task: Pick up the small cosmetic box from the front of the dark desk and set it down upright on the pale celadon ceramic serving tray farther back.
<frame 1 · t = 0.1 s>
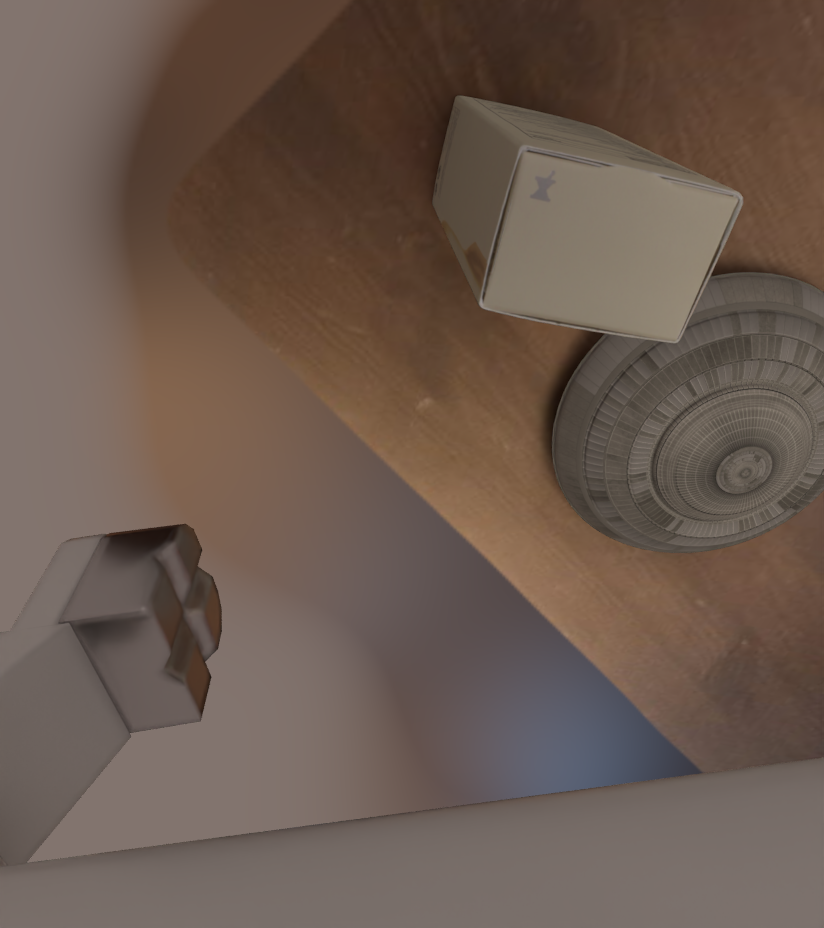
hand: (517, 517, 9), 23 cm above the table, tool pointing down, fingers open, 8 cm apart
cosmetic box: (517, 167, 29), on the table
flying saucer: (694, 411, 36), on the table
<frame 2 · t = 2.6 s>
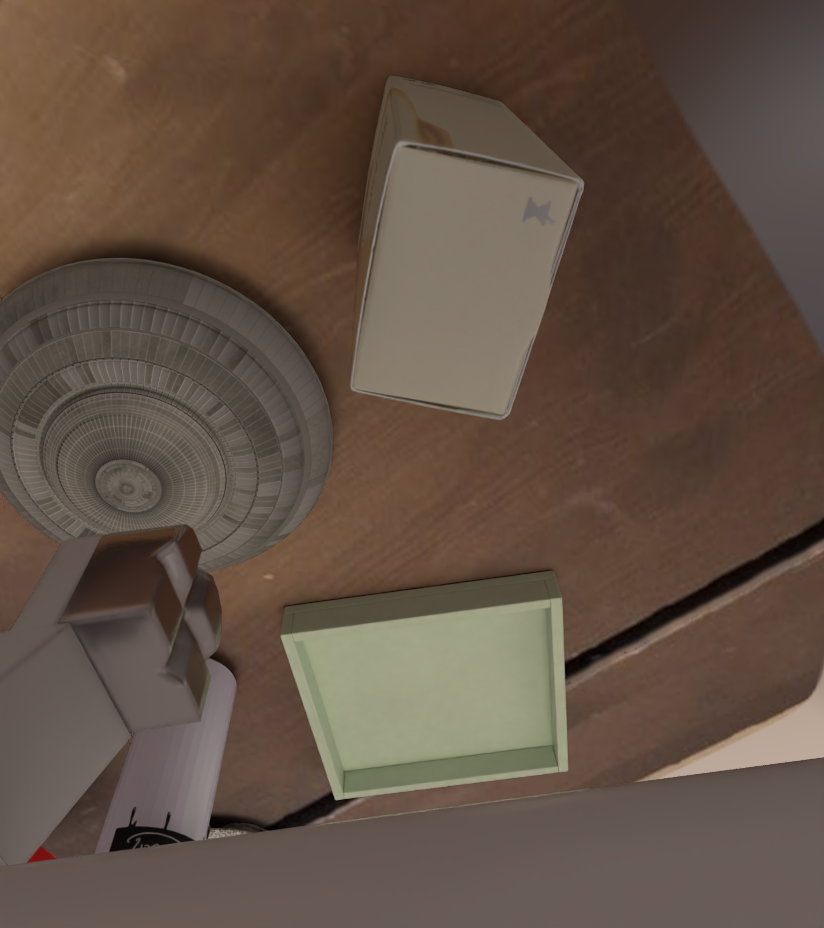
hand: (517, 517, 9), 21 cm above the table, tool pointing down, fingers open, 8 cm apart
grey speckled shallow bowl: (222, 861, 51), on the table
cosmetic box: (425, 180, 27), on the table
flying saucer: (164, 416, 32), on the table
perfume bottle: (198, 670, 40), on the table
tray: (434, 679, 41), on the table
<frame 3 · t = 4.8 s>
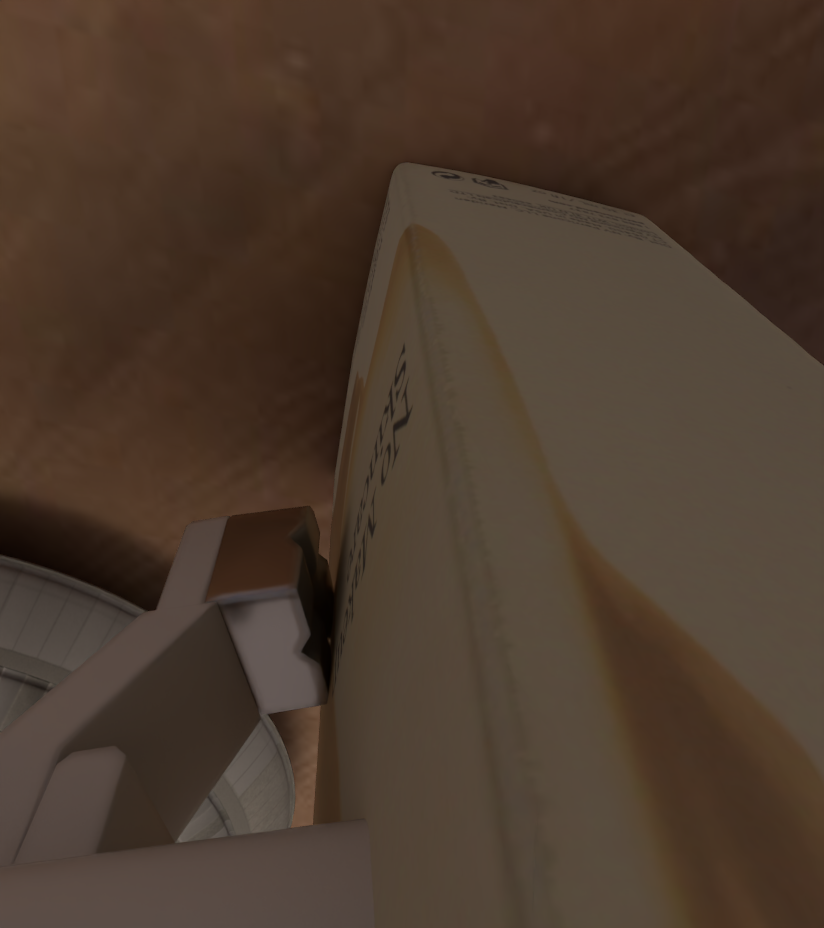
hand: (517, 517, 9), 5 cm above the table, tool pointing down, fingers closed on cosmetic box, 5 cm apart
cosmetic box: (471, 360, 13), on the table, touching gripper
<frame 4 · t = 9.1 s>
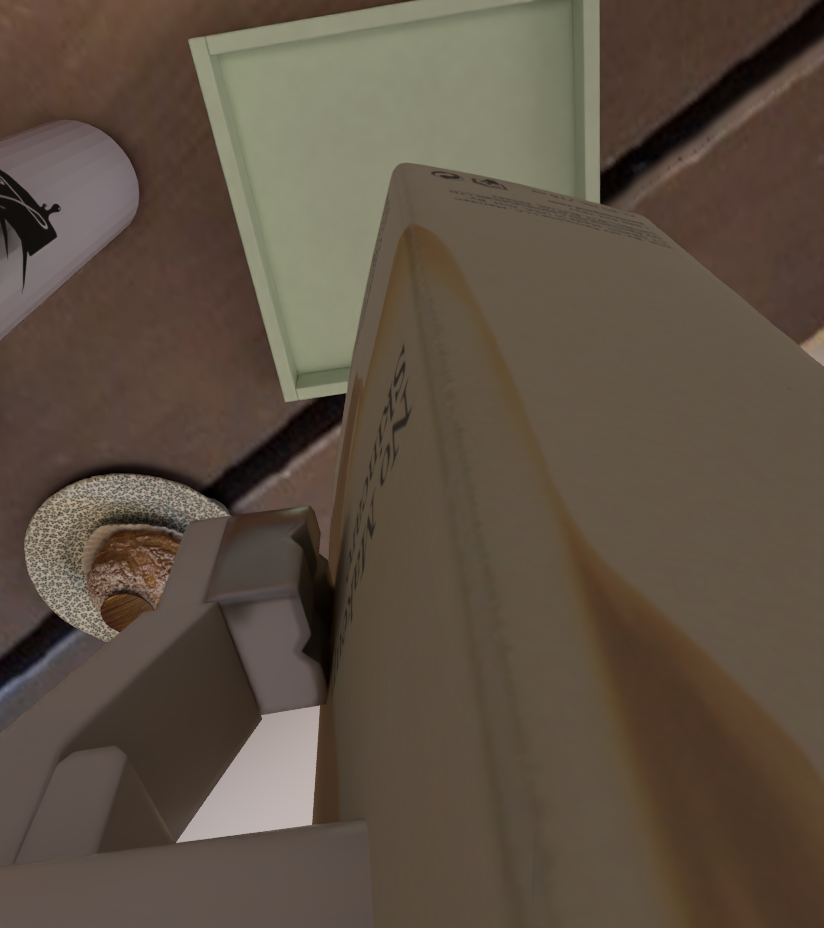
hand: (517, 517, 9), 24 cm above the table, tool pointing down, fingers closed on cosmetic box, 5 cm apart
grey speckled shallow bowl: (149, 554, 39), on the table
cosmetic box: (471, 361, 13), point 19 cm above the table, touching gripper
perfume bottle: (87, 178, 29), on the table
tray: (416, 204, 30), on the table
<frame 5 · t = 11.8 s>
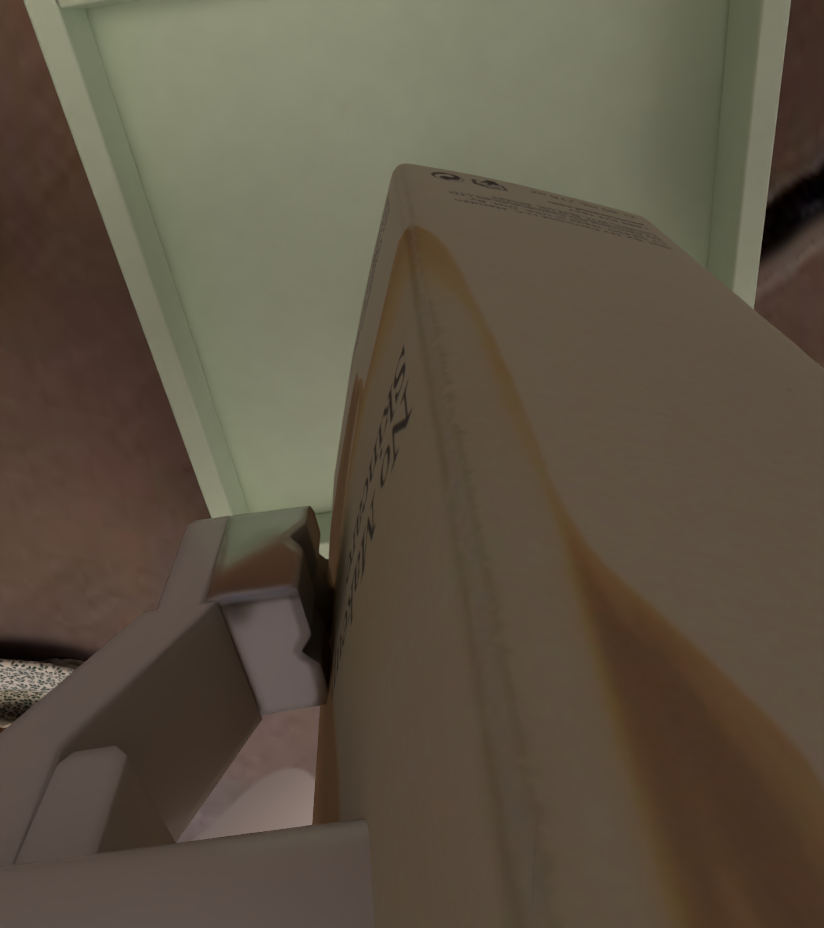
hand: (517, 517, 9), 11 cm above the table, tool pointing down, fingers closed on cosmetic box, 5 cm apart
grey speckled shallow bowl: (49, 746, 27), on the table
cosmetic box: (471, 361, 13), point 6 cm above the table, touching gripper
tray: (442, 268, 18), on the table
when the fingers open (5 cm above the table, at t = 13.6 s): cosmetic box stays where it is, resting on tray.
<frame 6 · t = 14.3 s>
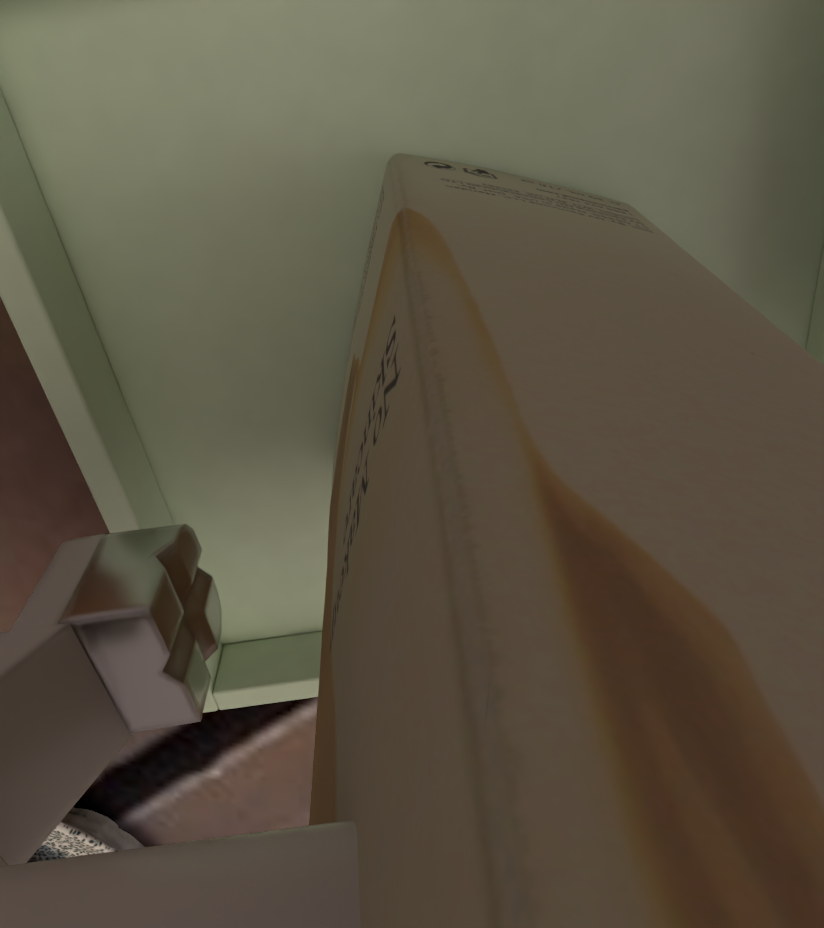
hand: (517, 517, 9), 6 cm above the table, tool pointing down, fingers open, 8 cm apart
cosmetic box: (464, 346, 14), resting on tray
tray: (461, 341, 14), on the table
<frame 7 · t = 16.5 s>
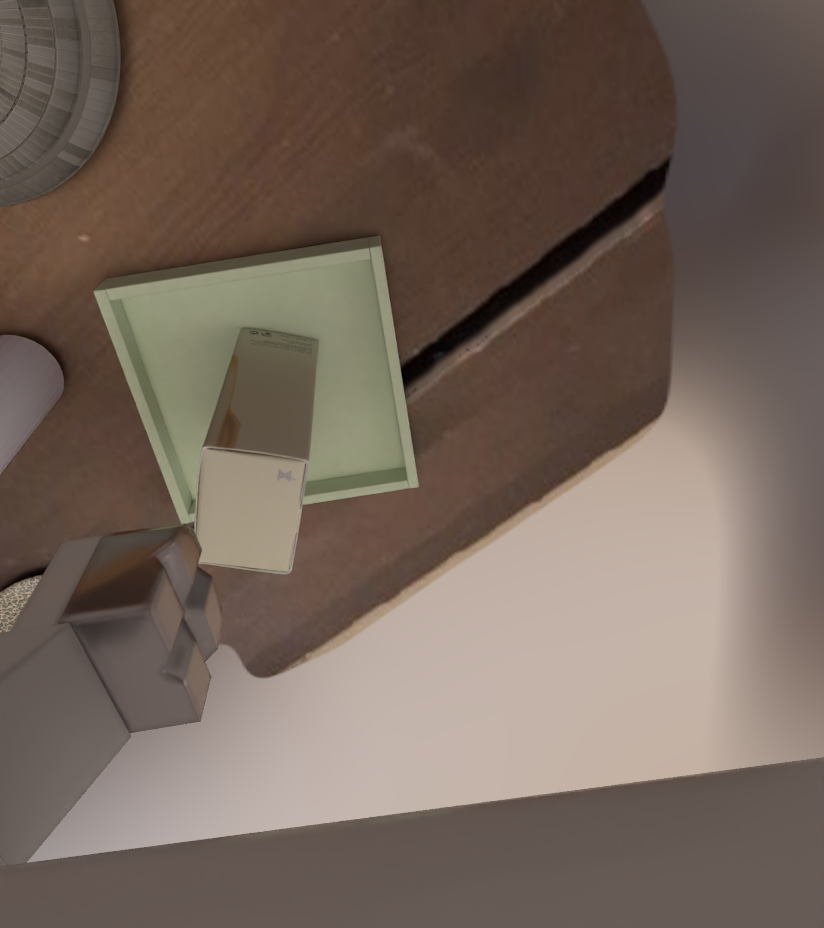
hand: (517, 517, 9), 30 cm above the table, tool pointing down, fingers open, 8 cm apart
grey speckled shallow bowl: (83, 630, 49), on the table
cosmetic box: (274, 384, 40), resting on tray
perfume bottle: (25, 367, 39), on the table
tray: (274, 382, 40), on the table
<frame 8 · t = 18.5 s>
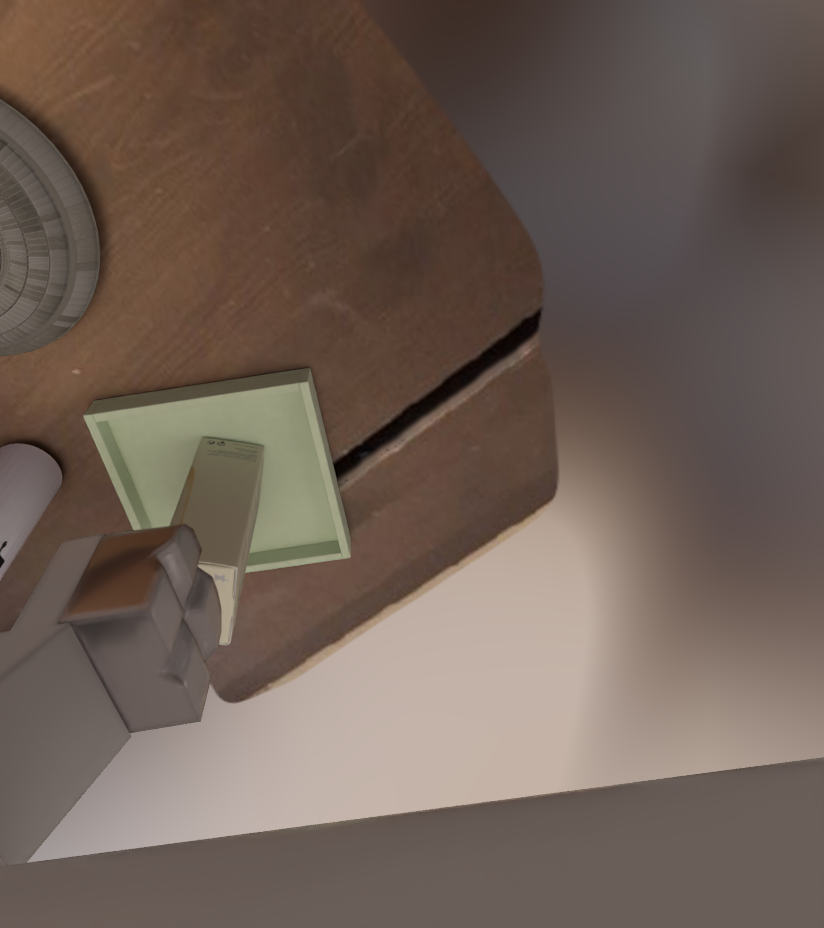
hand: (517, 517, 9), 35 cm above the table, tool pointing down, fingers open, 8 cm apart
cosmetic box: (230, 477, 50), resting on tray
perfume bottle: (32, 464, 49), on the table
tray: (231, 475, 50), on the table
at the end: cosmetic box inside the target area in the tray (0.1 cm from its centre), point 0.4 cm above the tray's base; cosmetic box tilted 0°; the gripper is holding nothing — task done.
